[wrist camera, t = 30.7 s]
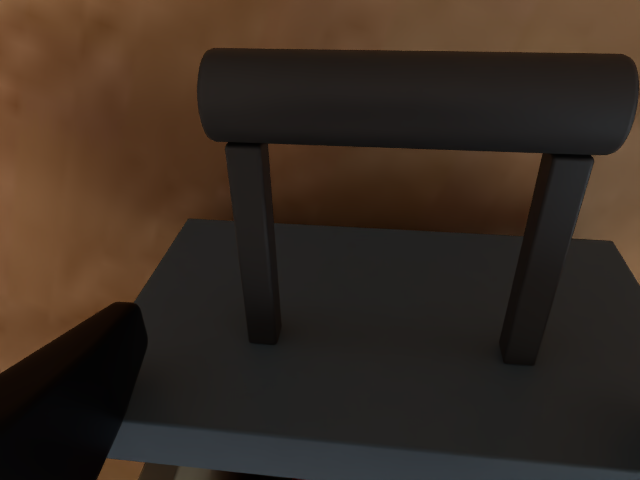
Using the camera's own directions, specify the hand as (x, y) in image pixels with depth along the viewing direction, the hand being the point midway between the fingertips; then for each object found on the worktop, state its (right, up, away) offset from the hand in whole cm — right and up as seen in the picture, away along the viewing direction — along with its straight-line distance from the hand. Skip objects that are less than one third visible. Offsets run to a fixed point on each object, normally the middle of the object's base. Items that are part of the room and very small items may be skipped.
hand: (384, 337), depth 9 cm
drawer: (+1, -2, +8) cm, 8 cm away
